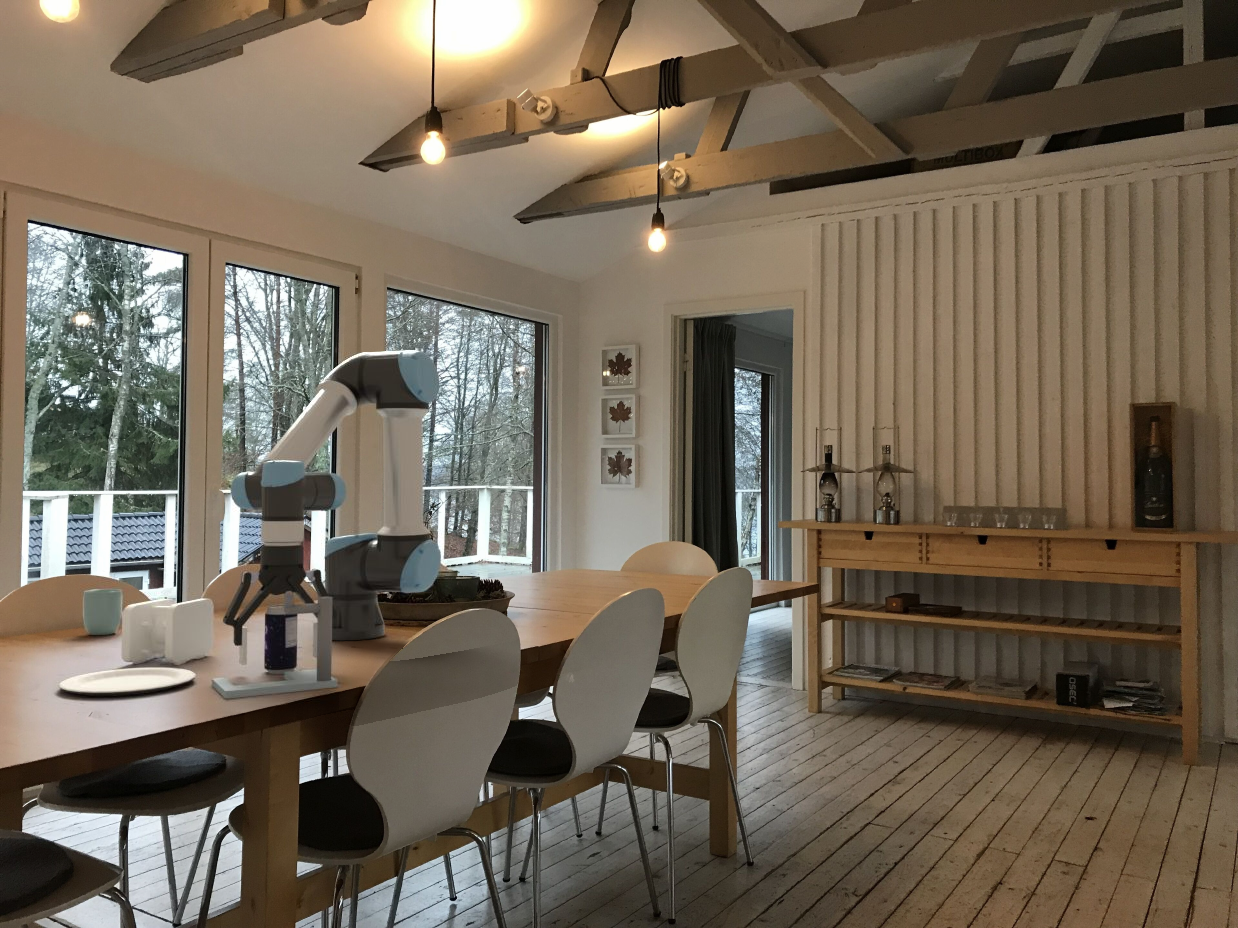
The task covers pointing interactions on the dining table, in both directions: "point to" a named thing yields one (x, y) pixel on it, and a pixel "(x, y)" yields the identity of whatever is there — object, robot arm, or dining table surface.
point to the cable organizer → (167, 630)
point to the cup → (102, 611)
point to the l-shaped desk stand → (300, 678)
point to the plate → (127, 681)
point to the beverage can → (280, 640)
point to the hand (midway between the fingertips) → (280, 660)
